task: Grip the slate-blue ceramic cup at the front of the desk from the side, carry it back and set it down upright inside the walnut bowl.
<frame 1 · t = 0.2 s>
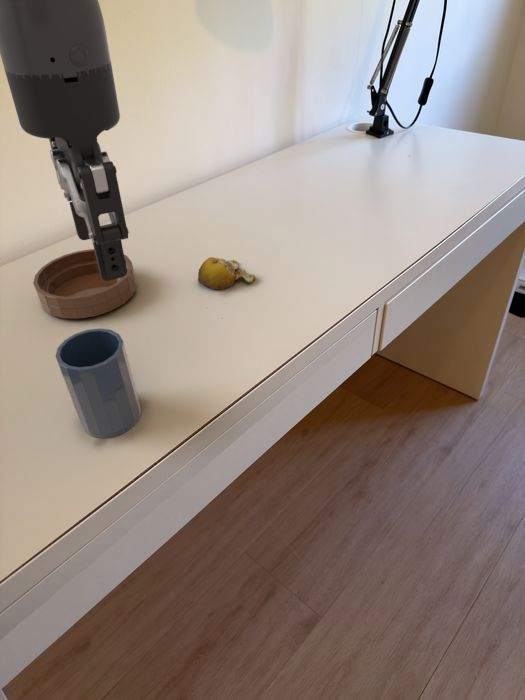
hand: (101, 256, 49), 20 cm above the table, tool pointing down, fingers open, 8 cm apart
fruit: (230, 280, 82), on the table
cup: (111, 416, 60), on the table
bowl: (90, 294, 81), on the table
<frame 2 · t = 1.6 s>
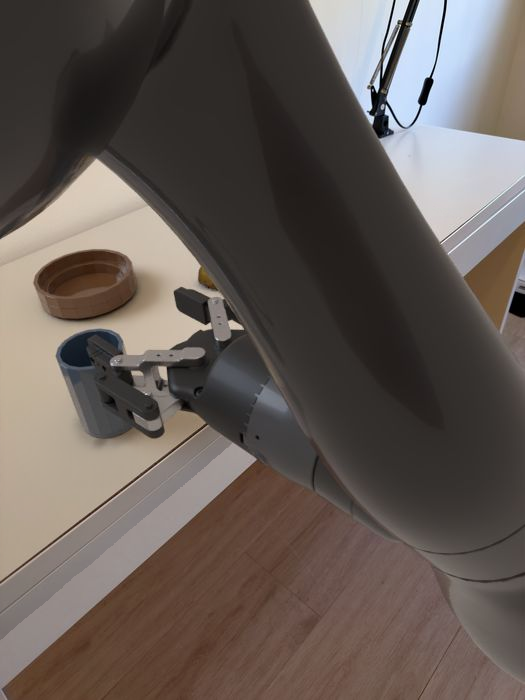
hand: (137, 320, 43), 18 cm above the table, tool horizontal, fingers open, 8 cm apart
nothing on the table moved.
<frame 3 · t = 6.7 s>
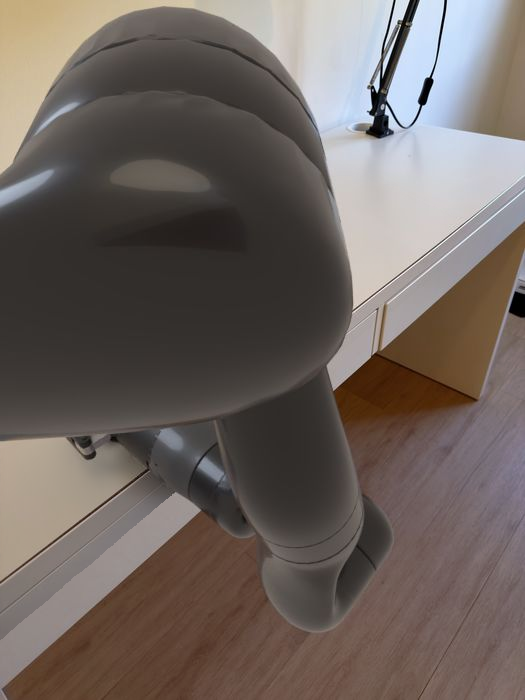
hand: (87, 368, 58), 6 cm above the table, tool horizontal, fingers closed on cup, 7 cm apart
cup: (111, 415, 60), on the table, touching gripper
everything else where it was.
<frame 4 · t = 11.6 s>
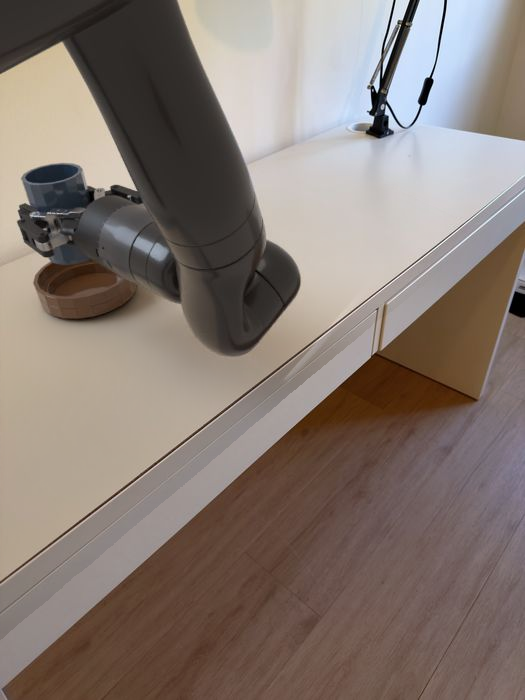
hand: (52, 201, 64), 18 cm above the table, tool horizontal, fingers closed on cup, 7 cm apart
cup: (75, 251, 66), point 12 cm above the table, touching gripper
everything else where it was.
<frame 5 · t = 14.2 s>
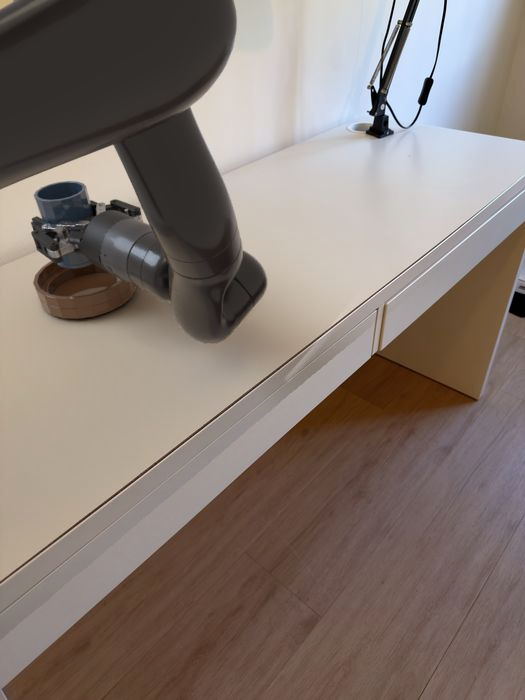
hand: (60, 214, 74), 12 cm above the table, tool horizontal, fingers closed on cup, 7 cm apart
cup: (80, 257, 77), point 6 cm above the table, touching gripper
everything else where it was.
when the fingers open (7 cm above the table, at t = 16.6 s): cup stays where it is, resting on bowl.
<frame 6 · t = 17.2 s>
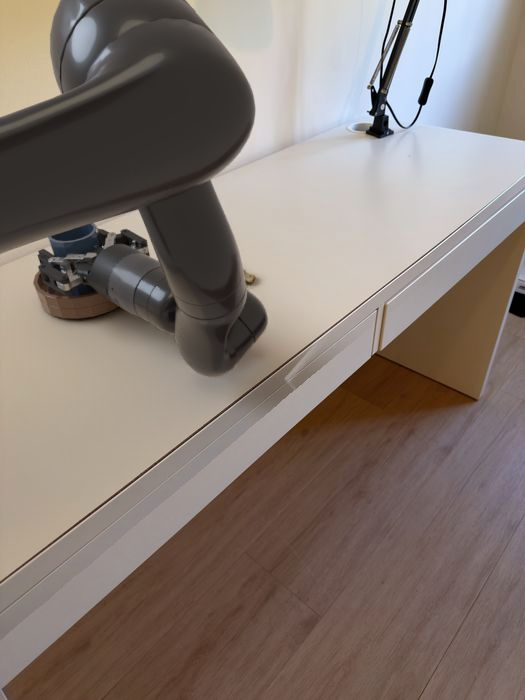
hand: (68, 244, 77), 8 cm above the table, tool horizontal, fingers open, 8 cm apart
cup: (90, 291, 80), point 1 cm above the table, touching bowl
everything else where it was.
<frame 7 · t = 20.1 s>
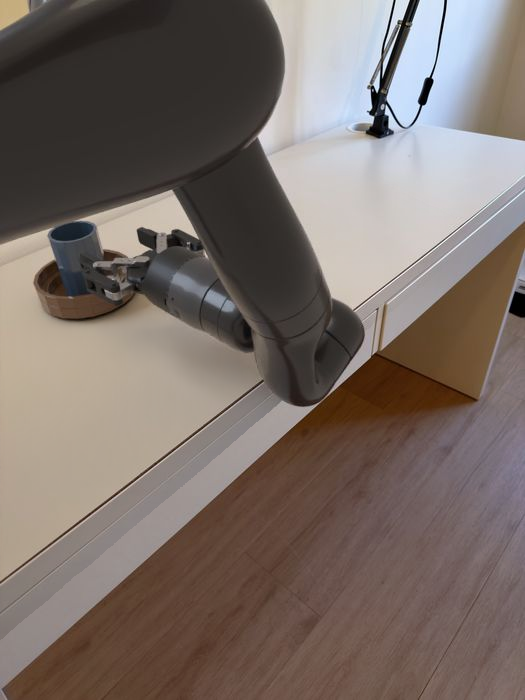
hand: (112, 246, 67), 12 cm above the table, tool horizontal, fingers open, 8 cm apart
nothing on the table moved.
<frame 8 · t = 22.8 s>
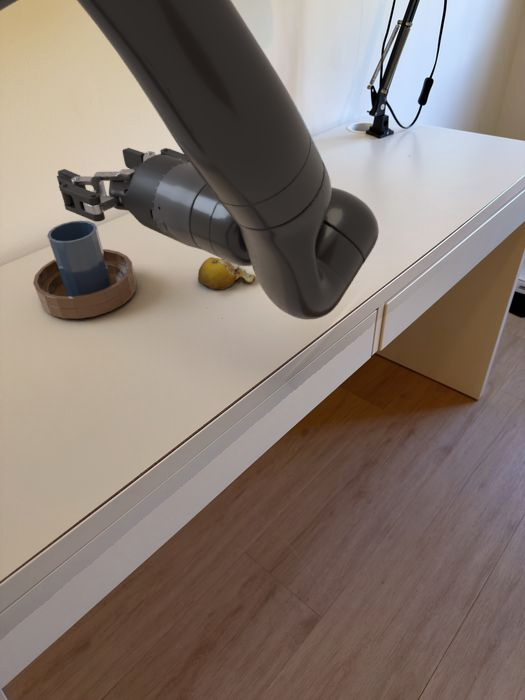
hand: (95, 167, 61), 22 cm above the table, tool horizontal, fingers open, 8 cm apart
nothing on the table moved.
at the end: cup inside the target area in the bowl (0.1 cm from its centre), point 0.6 cm above the bowl's base; cup tilted 0°; the gripper is holding nothing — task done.
